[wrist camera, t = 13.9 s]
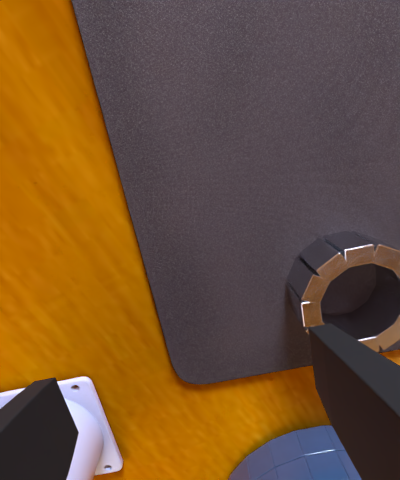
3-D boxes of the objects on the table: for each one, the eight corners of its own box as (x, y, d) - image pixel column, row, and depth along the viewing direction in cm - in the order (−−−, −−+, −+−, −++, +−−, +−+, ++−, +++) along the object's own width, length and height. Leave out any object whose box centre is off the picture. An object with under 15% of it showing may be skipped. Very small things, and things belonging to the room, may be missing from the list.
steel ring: (293, 337, 19) (308, 365, 16) (279, 243, 17) (294, 260, 14) (393, 317, 18) (425, 343, 16) (390, 220, 17) (425, 233, 14)
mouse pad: (506, 327, 19) (509, 329, 19) (178, 387, 20) (178, 389, 19) (562, -212, 12) (569, -218, 12) (49, -84, 13) (46, -88, 12)
